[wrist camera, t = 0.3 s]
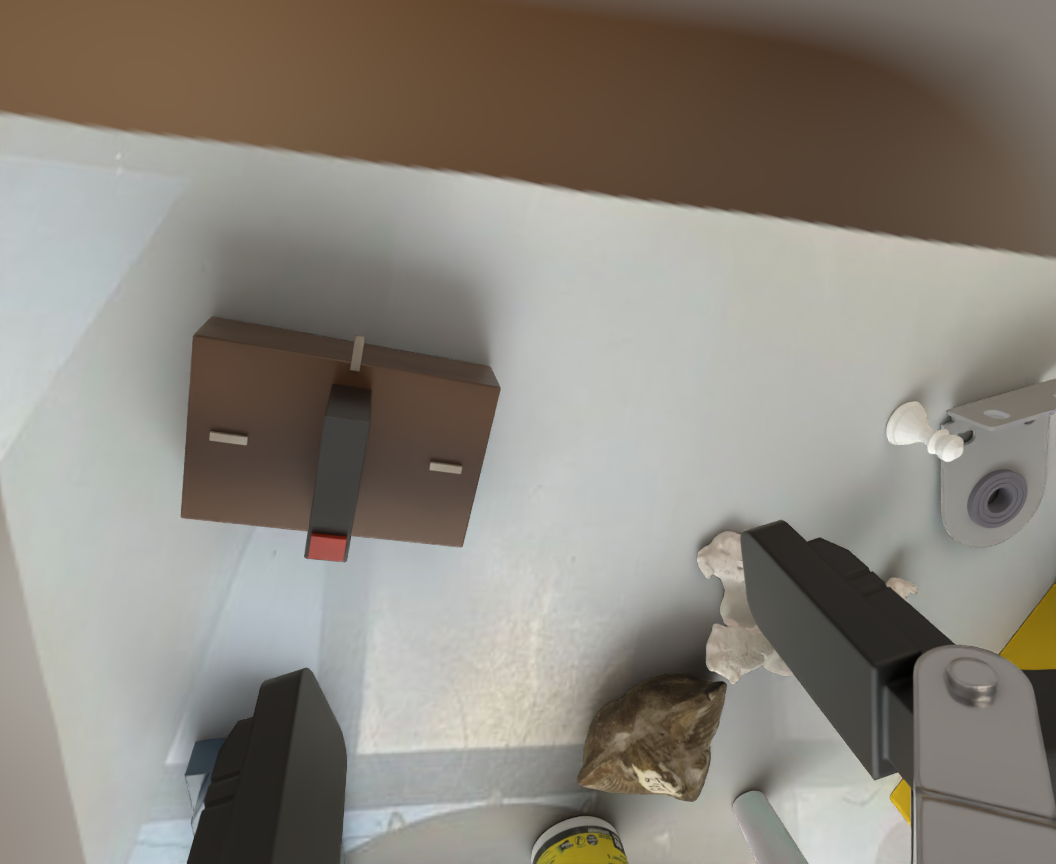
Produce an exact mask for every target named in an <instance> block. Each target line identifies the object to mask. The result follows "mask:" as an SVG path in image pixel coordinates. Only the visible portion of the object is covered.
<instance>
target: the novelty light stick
mask: <svg viewBox="0 0 1056 864" xmlns="http://www.w3.org/2000/svg"><path fill="white" fill-rule="evenodd" d="M732 810H733V813H734V815H735V817H736V819H737V821H738V824H739V826H740V828H741V830H742V832H743V835H744V837H745V839H746V841H747V843H748V846H749V848H750V850H751V852H752V854H753V857H754V859H755V861H756V863H757V864H808V862H807V861H806V859H805V857H804V856H803V854H802V853H801V851H800V850H799V848H798V846H797V845H796V843H795V842H794V840H793V839H792V837H791V836H790V834H789V832H788V831H787V829H786V828H785V826H784V825H783V823H782V822H781V820H780V818H779V817H778V815H777V814H776V812H775V811H774V809H773V808H772V806H771V804H770V803H769V801H768V800H767V798H766V797H765V795H764V794H763V793H762V792H760V791H749V792H746V793H744V794H742V795H741V796H739V797H738V798H737V799H736V800H735V802H734V803H733V806H732Z"/></svg>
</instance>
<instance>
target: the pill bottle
mask: <svg viewBox="0 0 1056 864" xmlns="http://www.w3.org/2000/svg"><path fill="white" fill-rule="evenodd" d="M531 864H628V861H627V858H626V855H625V852H624V849H623V846H622V843H621V840H620V838H619V835H618V833H617V831H616V830H615V828H614V827H613V826H612V825H611V824H609V823H608V822H606V821H604V820H602V819H600V818H596V817H591V816H580V817H575V818H571V819H567V820H565V821H562V822H560V823H558V824H556V825H554V826H553V827H551V828H550V829H548V830H547V831H546V832H545V833H544V834H543V835H541V837H540V838H539V839H538V840H537V842H536V844H535V845H534V848H533V850H532V854H531Z"/></svg>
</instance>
